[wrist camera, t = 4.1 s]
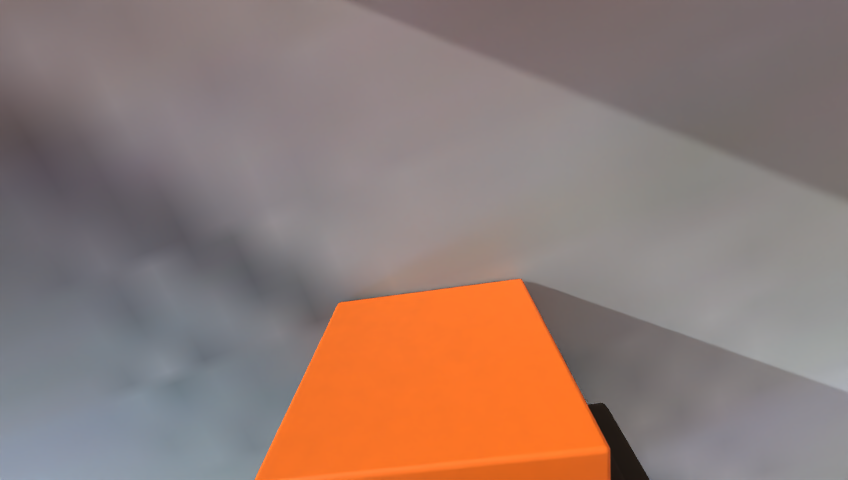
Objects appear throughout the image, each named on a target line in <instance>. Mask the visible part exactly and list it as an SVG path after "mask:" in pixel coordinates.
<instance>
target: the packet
mask: <svg viewBox="0 0 848 480" xmlns="http://www.w3.org/2000/svg"><path fill="white" fill-rule="evenodd" d="M255 480H611V472H610V447H609V445H608V443H607V441H606V439H605V438H604V436H603V434H602V432H601V430H600V428H599V426H598V424H597V422H596V420H595V418H594V417H593V415H592V413H591V411H590V409H589V407H588V405H587V403H586V401H585V399H584V397H583V395H582V394H581V392H580V390H579V388H578V386H577V384H576V382H575V380H574V378H573V376H572V374H571V372H570V371H569V369H568V367H567V365H566V363H565V361H564V359H563V357H562V355H561V353H560V351H559V349H558V348H557V346H556V344H555V342H554V340H553V338H552V336H551V334H550V332H549V330H548V328H547V326H546V325H545V323H544V321H543V319H542V317H541V315H540V313H539V311H538V309H537V307H536V305H535V303H534V302H533V300H532V298H531V296H530V294H529V292H528V290H527V288H526V286H525V284H524V282H523V281H522V279H515V280H507V281H499V282H492V283H484V284H477V285H469V286H461V287H454V288H446V289H439V290H431V291H423V292H416V293H408V294H400V295H393V296H385V297H378V298H370V299H362V300H355V301H347V302H340V303H338V305H337V307H336V309H335V311H334V313H333V316H332V318H331V320H330V322H329V324H328V326H327V328H326V330H325V332H324V334H323V337H322V339H321V341H320V343H319V345H318V347H317V349H316V351H315V353H314V356H313V358H312V360H311V362H310V364H309V366H308V368H307V370H306V372H305V374H304V377H303V379H302V381H301V383H300V385H299V387H298V389H297V391H296V393H295V396H294V398H293V400H292V402H291V404H290V406H289V408H288V410H287V412H286V414H285V417H284V419H283V421H282V423H281V425H280V427H279V429H278V431H277V433H276V436H275V438H274V440H273V442H272V444H271V446H270V448H269V450H268V452H267V454H266V457H265V459H264V461H263V463H262V465H261V467H260V469H259V471H258V473H257V476H256V478H255Z"/></svg>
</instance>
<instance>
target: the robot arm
mask: <svg viewBox="0 0 848 480" xmlns="http://www.w3.org/2000/svg"><path fill="white" fill-rule="evenodd" d="M588 407H589V409H590V411H591V413H592V415H593V417H594V418H595V420H596V422H597V424H598V426H599V428H600V430H601V432H602V434H603V436H604V438H605V439H606V441H607V443H608V445H609V447H610V472H611V480H649V478H648V476H647V475H646V473H645V471H644V469H643V468H642V466H641V464H640V462H639V461H638V459H637V457H636V456H635V454H634V452H633V450H632V449H631V447H630V445H629V444H628V442H627V440H626V438H625V437H624V435H623V433H622V432H621V430H620V428H619V426H618V425H617V423H616V421H615V420H614V418H613V416H612V414H611V413H610V411H609V409H608V408H607V407H606V405H605V404H603V403H598V404H589V405H588Z"/></svg>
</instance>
